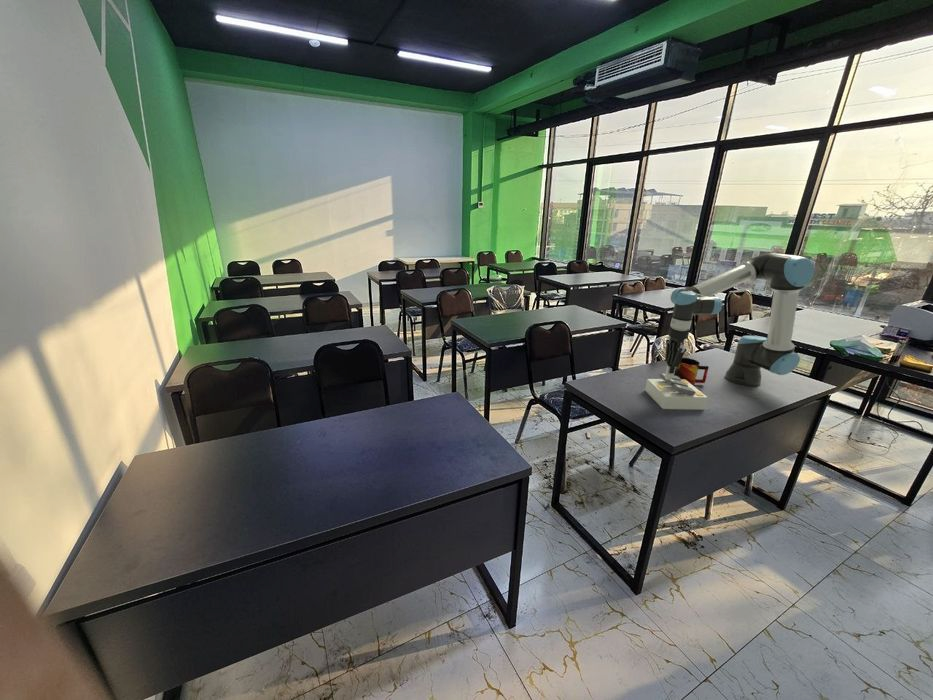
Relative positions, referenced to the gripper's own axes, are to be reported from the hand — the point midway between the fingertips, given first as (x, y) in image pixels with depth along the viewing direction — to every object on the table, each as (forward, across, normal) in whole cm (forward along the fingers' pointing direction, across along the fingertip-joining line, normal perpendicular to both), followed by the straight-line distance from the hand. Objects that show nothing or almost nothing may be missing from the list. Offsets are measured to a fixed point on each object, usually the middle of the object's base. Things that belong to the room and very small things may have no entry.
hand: (668, 378), depth 176 cm
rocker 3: (+2, +6, +4) cm, 8 cm away
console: (+10, 0, +4) cm, 11 cm away
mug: (+10, -18, +20) cm, 29 cm away
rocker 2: (+2, 0, +4) cm, 5 cm away
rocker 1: (+2, -6, +4) cm, 8 cm away
